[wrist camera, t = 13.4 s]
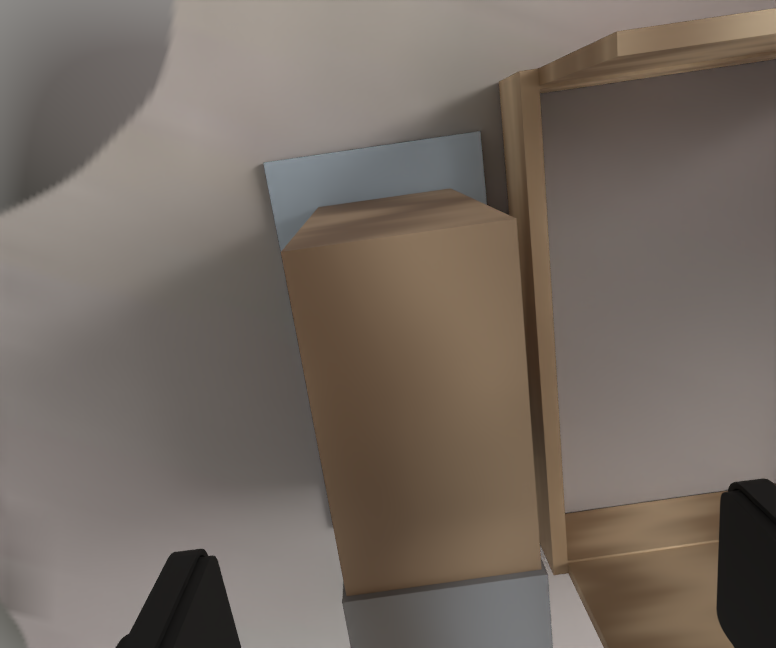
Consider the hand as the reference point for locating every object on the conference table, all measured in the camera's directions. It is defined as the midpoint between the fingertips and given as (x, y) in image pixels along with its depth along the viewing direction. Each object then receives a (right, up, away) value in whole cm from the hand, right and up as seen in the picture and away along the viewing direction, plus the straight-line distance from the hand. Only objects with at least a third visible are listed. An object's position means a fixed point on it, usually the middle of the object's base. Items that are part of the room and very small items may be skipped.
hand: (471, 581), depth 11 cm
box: (-1, +4, +13) cm, 13 cm away
